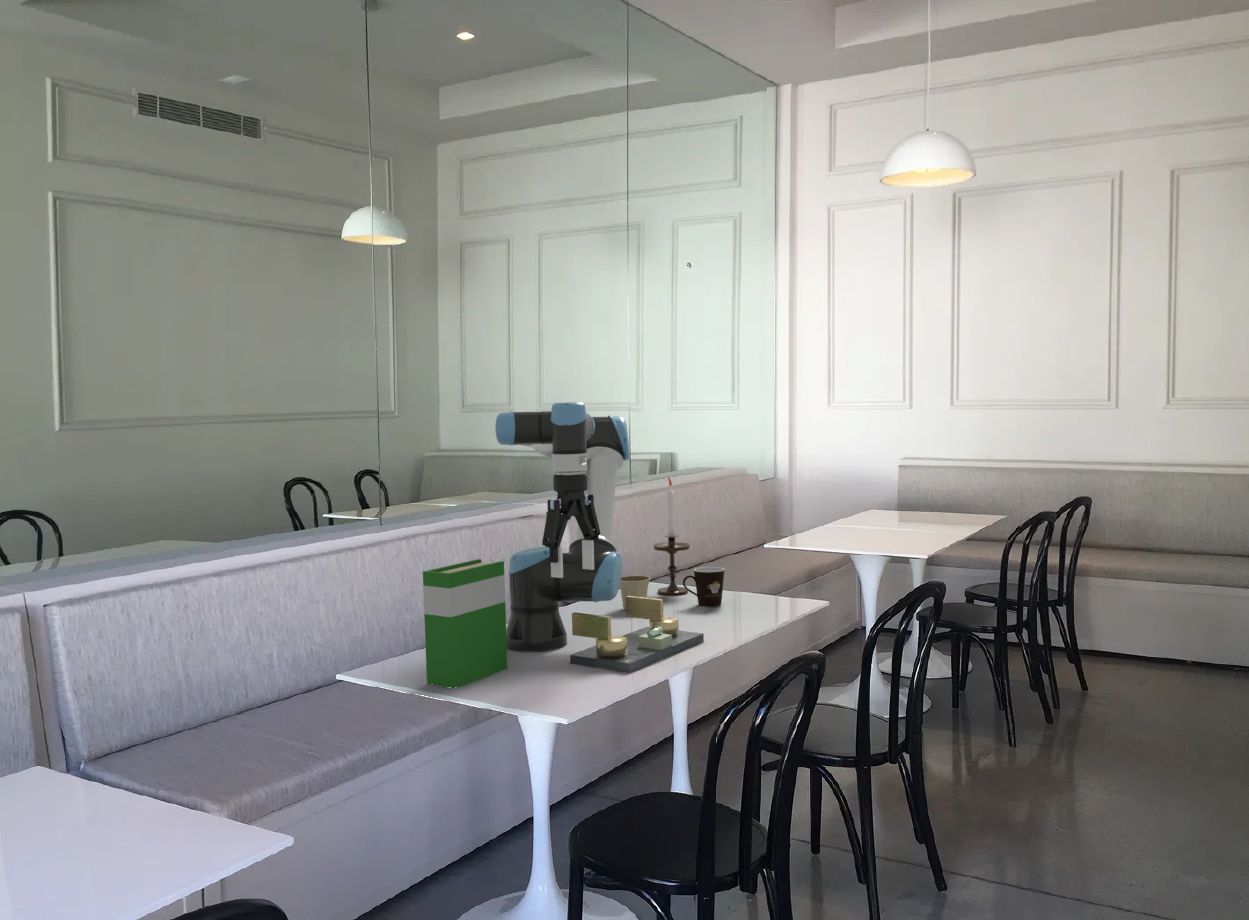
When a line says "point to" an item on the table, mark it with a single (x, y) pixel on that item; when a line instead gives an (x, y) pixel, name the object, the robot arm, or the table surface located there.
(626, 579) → the flower pot
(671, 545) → the candlestick
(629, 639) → the level plate
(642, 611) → the far knob
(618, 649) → the near knob
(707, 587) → the coffee mug
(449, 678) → the hardback book
